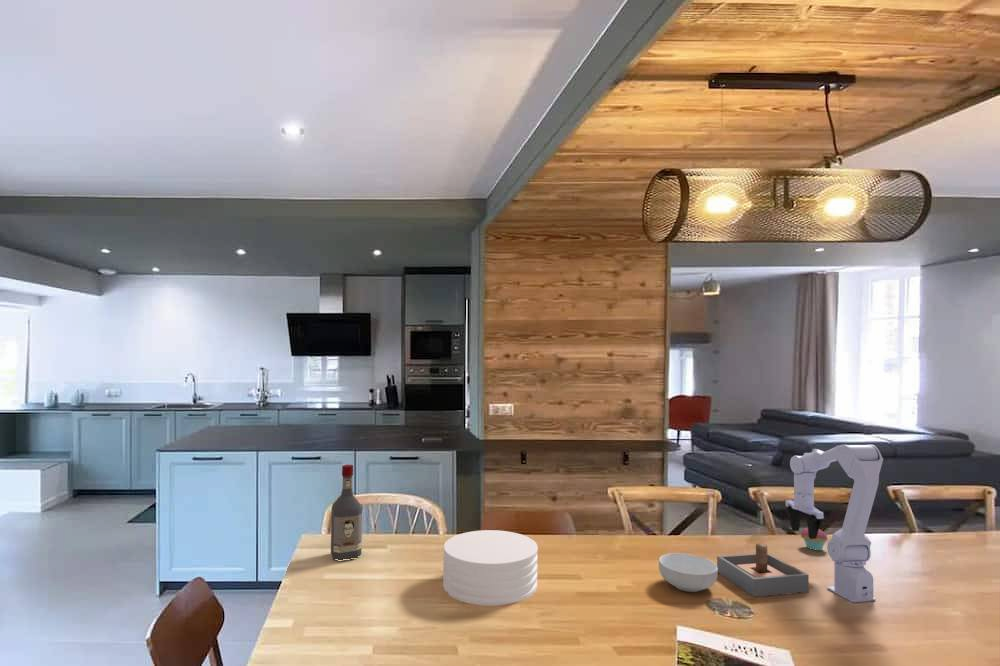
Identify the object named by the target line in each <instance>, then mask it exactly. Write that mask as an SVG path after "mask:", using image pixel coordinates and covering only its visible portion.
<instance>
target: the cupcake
mask: <svg viewBox="0 0 1000 666" xmlns="http://www.w3.org/2000/svg"><path fill="white" fill-rule="evenodd" d="M799 535H800V538H802V539H803V540H804V542H805V545H806V546H807V547H808V548H811V549H816V550H820V551H822V550H823V548H824V545H825V543H826V542H827V541H828V534H827V533H826V532H825V531H823V530H822V529H820V528H819V530H818V534H817V537H816V539H810V538H809V534H808V527H806V528H803V529H802V530H800V534H799ZM807 547H806V548H807ZM808 548H807V549H808ZM811 549H810V550H811ZM821 549H822V550H821Z"/></svg>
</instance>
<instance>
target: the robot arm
mask: <svg viewBox="0 0 1000 666" xmlns="http://www.w3.org/2000/svg"><path fill="white" fill-rule="evenodd" d="M811 451H812V452H804V453H803V455H793V456H792V457H791V458H790V460H789V467H790V469H791V471H792V473H793V483H794V484H793V500H792V499H789V500H787V499H786V500H785V508H784V512H785V513H786V516H787V517H788V520H789V524H790V526H791V531H792V532H798V531H800V527H801V525H800V524H801V517H802V514H803V513H804V514H808V515H805V516H804V518H805V519H804V520H805V522H806V524H807V528H808V534H809V538H810V539H816V537H817V534H818V530H819V529H820V528H821V526H822V525H823V523H824V522H825V518H824V517H825V516H824V512H823V511H820V510H819V509H818V508H816V507H815V483H814V481H815V479H816V478H817V475H816V474H817V472H819V471H820V470H824V469H827V468H829V466H830V465H831V463H833V462H838V463H839V465H840V467H842V470H843V471H844V472H845V474H846V475H847V477H848V478H850V479H851V480H852V479H853V487H852V490H851V493H850V497H849V500H848V501H849V502H848V505H847V508H846V513H845V516H844V520H843V524H842V527H841V528H840V529H838V530H837V531H835V532H834V533H832V536H831V538H830V540H828V542H827V545H826V550H827V554H828V555H829V557H830V559H831V560H832V561H833V562H834V563H833V564H834V565H833V566H834V570H833V571H834V572H833V573H834V577H833V578H834V580H833V581H834V585H831V586H827V588H826V589H828V590H829V591H832V592H833V593H835V594H836V595H838V596H839V597H840V596H841V597H842V598H844V599H846V600H847V601H849V602H851V603H860V602H861V603H862V602H872V601H876V600H877V599H876V598H875V597H874V577H873V575H872V573H871V572H870V571H868V570H867V569H866V568H865V566H866V565H867V562H869V561H870V559H871V555H872V553H871V551H872V550H871V545H872V542H871V539H870V538H869V537H868V536H867V535H865V533H866V529H867V527H868V523H869V521H870V520H869V519H870V516H871V513H872V508H873V506H874V501H875V498H876V494H877V491H878V487H879V483H880V481H879V480H880V472H881V469H882V465H883V461H884V457H883V456H882V454H881V451H880V450H879V449H878V447H877V446H876V445H874V444H840V445H835V447H832V448H831V449H828V450H825V451H824V450H820V449H819V448H813V449H812V450H811ZM786 507H787V508H786Z"/></svg>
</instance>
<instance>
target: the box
mask: <svg viewBox="0 0 1000 666" xmlns="http://www.w3.org/2000/svg"><path fill="white" fill-rule="evenodd" d="M716 558H717V559H716V565H717V568H718V574H719V573H720V574H719V575H721V576H722V575H723V576H722V577H724V578H725V577H726V578H725V579H727V580H728V581H730V582H731V583H732V584H734V585H736V586H737V587H738V588H740V589H742V590H743V591H744V590H745V592H746V593H748V594H749V595H750V594H751V595H750V596H752V597H753V596H754V598H757V597H756V596H760V597H768V596H767V595H771V596H779V595H778V594H782V595H788V594H787V593H793V594H799V593H798V592H804V593H809V592H808V591H809V590H810V589H809V588H810V587H809V585H810V584H809V581H810V580H809V576H810V575H809V574H808V573H806V572H804V571H802V570H800V569H798V568H797V567H795V566H793V565H791V564H789V563H787V562H785V561H784V560H781V559H780V558H779V557H776V556H774V555H772V554H770V553H769V552H767V573H761V574H759V573H757V572H756V552H755V553H743V554H742V553H741V554H729V555H728V554H727V555H717V556H716Z"/></svg>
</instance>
